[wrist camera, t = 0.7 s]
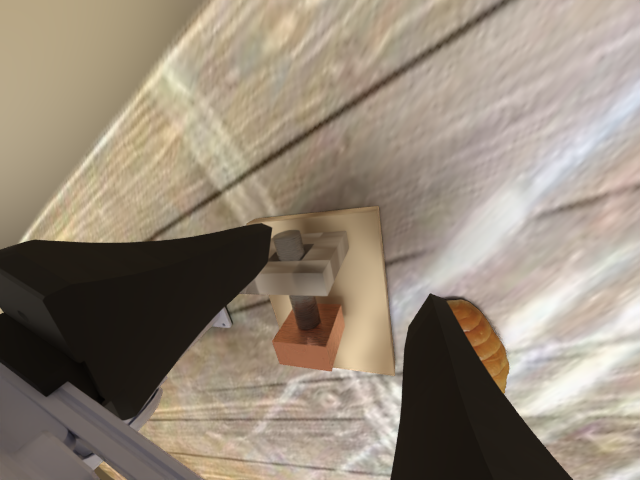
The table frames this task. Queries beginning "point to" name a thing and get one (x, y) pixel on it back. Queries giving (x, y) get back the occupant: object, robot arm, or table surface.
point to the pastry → (482, 340)
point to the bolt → (306, 319)
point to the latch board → (336, 280)
